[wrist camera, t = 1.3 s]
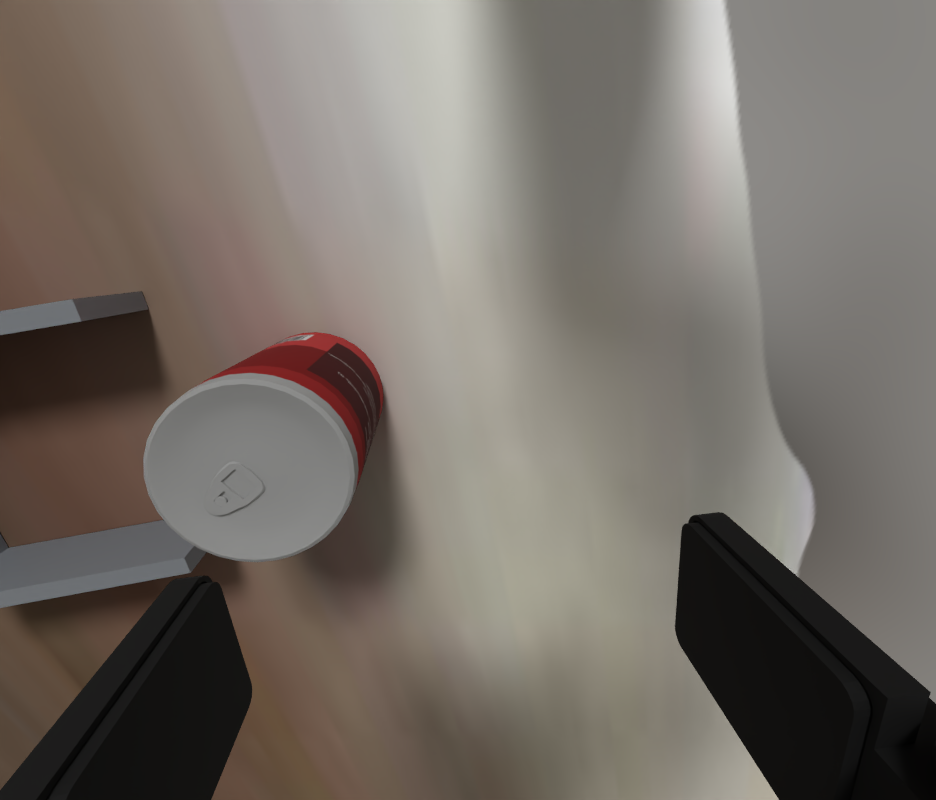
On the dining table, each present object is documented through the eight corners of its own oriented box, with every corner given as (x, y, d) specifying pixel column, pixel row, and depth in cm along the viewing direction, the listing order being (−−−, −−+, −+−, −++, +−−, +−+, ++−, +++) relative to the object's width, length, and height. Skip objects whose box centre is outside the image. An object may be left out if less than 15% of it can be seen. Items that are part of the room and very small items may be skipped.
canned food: (232, 415, 27) (107, 512, 17) (292, 302, 25) (194, 333, 15) (345, 473, 29) (295, 594, 18) (408, 371, 27) (393, 442, 17)
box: (141, 291, 25) (72, 299, 20) (229, 521, 29) (190, 572, 25) (-133, 337, 24) (-271, 357, 20) (0, 563, 29) (-85, 623, 24)
